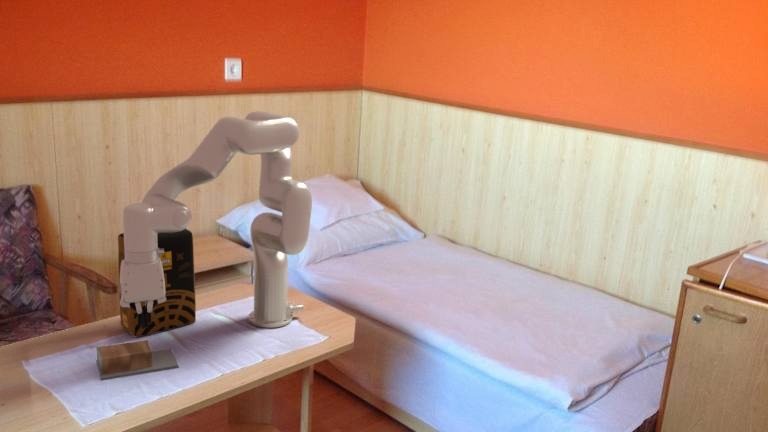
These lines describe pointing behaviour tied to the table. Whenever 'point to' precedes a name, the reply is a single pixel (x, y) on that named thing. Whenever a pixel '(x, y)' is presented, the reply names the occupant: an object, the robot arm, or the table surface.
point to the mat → (159, 362)
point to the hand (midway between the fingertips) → (144, 326)
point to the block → (124, 357)
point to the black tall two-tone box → (167, 286)
